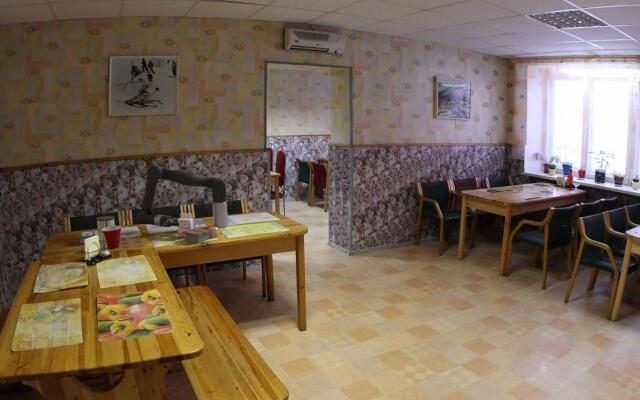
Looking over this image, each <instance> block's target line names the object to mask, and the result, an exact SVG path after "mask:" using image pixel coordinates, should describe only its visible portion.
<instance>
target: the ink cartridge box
mask: <svg viewBox="0 0 640 400" xmlns="http://www.w3.org/2000/svg"><path fill="white" fill-rule="evenodd" d="M179 216H180V217H178V218H179V219H178V223H179V226H177V235H178V236H177V237H178V238H184V239H185V234H183V232H184V231H187V230H190V229H193V228H194V217H193V216H194V215H193V213H187V212H186V213H185V212H184V213H180V215H179Z"/></svg>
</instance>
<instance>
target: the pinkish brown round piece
mask: <svg viewBox="0 0 640 400" xmlns="http://www.w3.org/2000/svg"><path fill="white" fill-rule="evenodd" d="M207 229H210V230H211V231H210V232H209V239H217V238H219V236H220V235H219V228H218V227H214V226H209V227H208V228H207Z"/></svg>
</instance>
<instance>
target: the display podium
mask: <svg viewBox="0 0 640 400" xmlns="http://www.w3.org/2000/svg"><path fill="white" fill-rule="evenodd" d="M210 231H211V230H210V229H208V228H201V227H193V229H190V230H187V231H184V232H183V234H185V238H184V240H185V242H188V243H195V244H200V243H203V242H205V241H209V240H210V238H209V232H210Z"/></svg>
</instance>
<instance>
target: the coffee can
mask: <svg viewBox="0 0 640 400" xmlns="http://www.w3.org/2000/svg"><path fill="white" fill-rule="evenodd" d="M95 220H96V226H97V227H96V228H97V237H98V236H99V239H100V241H99V242H101V243H106V239H105V236H104V233H103V231H102V229H103V228H106V227H111V226H116V216H114V215H101V216H98V217H96V219H95ZM99 239H98V240H99Z"/></svg>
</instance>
